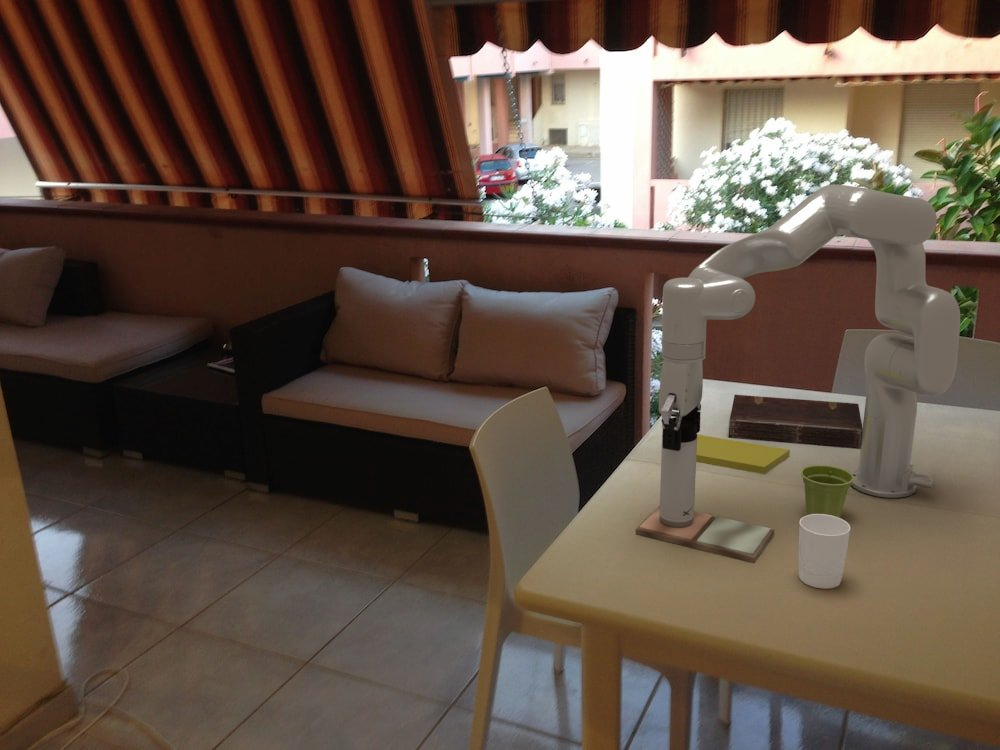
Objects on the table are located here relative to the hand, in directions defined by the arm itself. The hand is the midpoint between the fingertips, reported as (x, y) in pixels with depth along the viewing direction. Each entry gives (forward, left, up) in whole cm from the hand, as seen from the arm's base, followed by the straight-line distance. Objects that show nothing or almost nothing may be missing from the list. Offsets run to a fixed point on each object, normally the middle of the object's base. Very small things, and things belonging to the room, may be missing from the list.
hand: (681, 440), depth 168 cm
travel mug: (0, 0, -16) cm, 16 cm away
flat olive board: (+3, -38, -18) cm, 42 cm away
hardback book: (-5, -62, -18) cm, 65 cm away
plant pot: (-22, -18, -18) cm, 33 cm away
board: (-5, 0, -17) cm, 18 cm away
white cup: (-27, +6, -18) cm, 33 cm away
